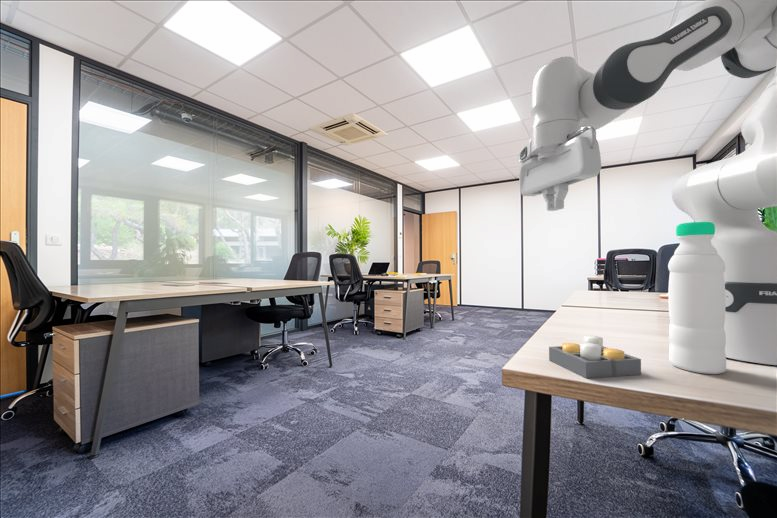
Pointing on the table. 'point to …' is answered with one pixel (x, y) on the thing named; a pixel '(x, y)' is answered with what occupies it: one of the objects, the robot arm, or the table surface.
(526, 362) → the table surface
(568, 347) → the button
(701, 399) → the table surface
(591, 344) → the button
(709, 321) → the water bottle
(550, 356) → the grey egg tray
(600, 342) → the button
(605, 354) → the button
